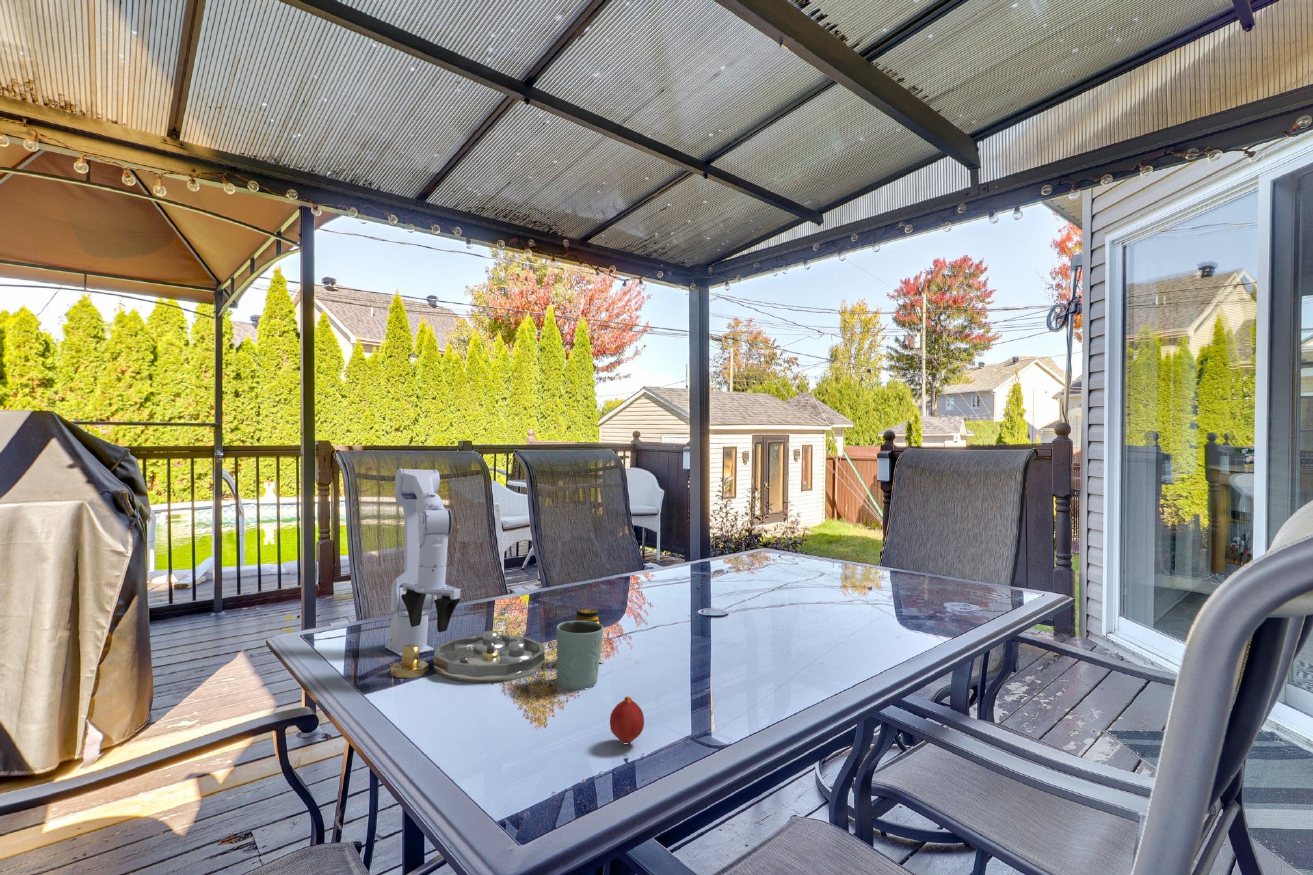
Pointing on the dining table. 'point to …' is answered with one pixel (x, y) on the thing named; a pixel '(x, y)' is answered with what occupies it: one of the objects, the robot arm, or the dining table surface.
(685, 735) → the dining table surface
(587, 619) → the condiment
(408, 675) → the brass octagonal knob
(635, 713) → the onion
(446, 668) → the tray
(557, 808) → the dining table surface
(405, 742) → the dining table surface
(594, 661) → the green cup
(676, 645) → the dining table surface
